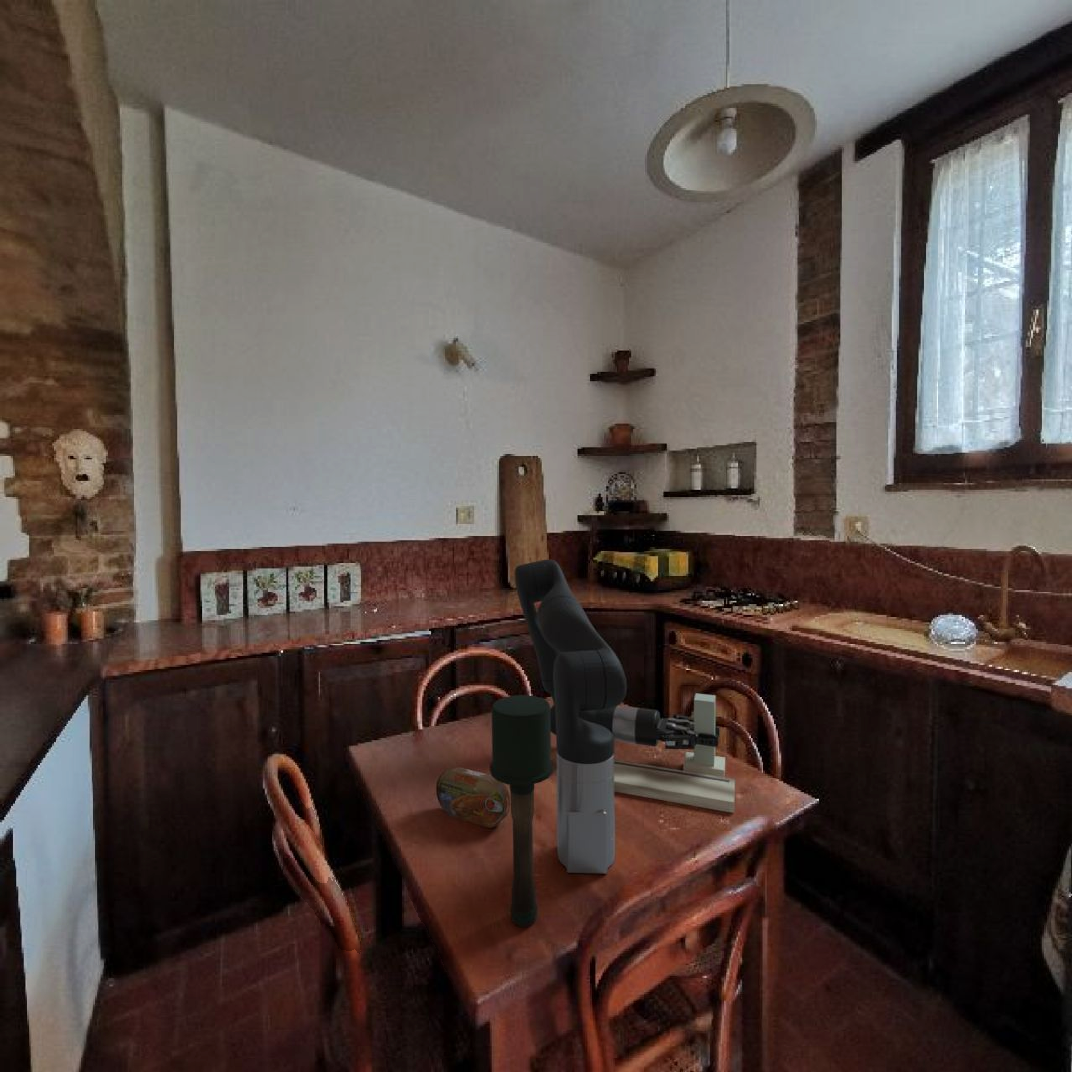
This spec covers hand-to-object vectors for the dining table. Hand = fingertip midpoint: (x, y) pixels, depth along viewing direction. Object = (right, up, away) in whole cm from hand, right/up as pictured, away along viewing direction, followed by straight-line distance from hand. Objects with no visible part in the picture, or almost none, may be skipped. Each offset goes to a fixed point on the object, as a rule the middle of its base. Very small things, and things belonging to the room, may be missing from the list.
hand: (718, 736), depth 113 cm
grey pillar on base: (-2, -8, +1) cm, 8 cm away
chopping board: (-12, -8, -5) cm, 16 cm away
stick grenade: (-39, -11, -39) cm, 56 cm away
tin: (-49, -10, -14) cm, 52 cm away
